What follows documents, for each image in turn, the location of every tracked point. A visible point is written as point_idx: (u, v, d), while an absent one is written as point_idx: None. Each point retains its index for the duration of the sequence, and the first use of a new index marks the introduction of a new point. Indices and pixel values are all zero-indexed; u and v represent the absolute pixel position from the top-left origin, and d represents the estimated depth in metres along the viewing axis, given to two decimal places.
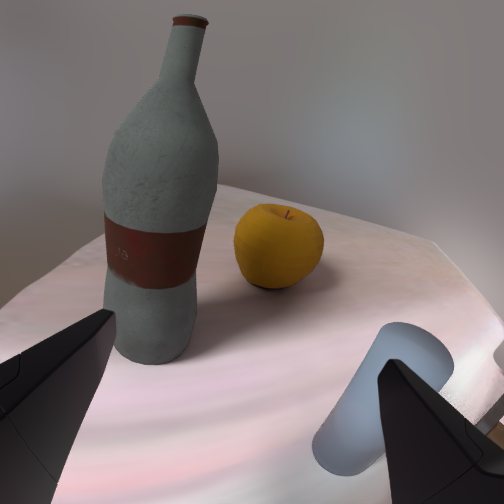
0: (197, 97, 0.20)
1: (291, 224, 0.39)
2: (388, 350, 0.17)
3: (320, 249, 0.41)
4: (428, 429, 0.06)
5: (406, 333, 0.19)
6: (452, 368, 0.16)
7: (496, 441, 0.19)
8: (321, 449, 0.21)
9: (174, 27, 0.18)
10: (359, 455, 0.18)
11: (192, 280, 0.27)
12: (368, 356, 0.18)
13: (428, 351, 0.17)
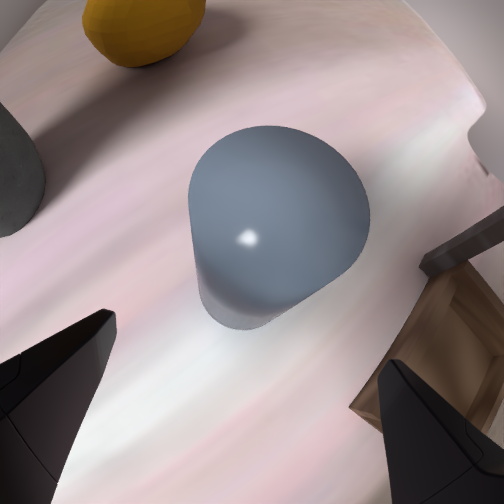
0: None
1: None
2: (206, 214, 0.09)
3: (196, 3, 0.21)
4: (428, 429, 0.06)
5: (265, 153, 0.10)
6: (363, 237, 0.10)
7: (462, 286, 0.20)
8: (203, 302, 0.19)
9: None
10: (243, 323, 0.17)
11: None
12: None
13: (312, 195, 0.10)
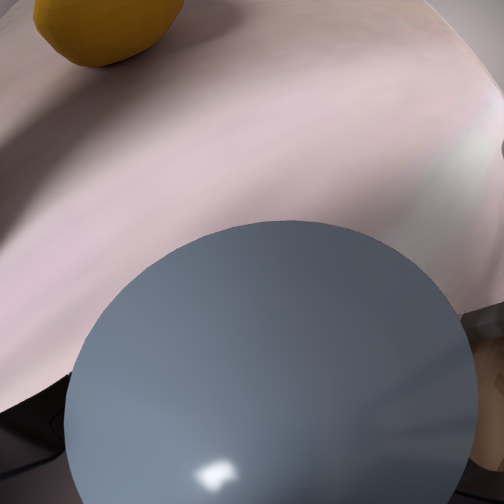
0: None
1: None
2: (114, 500, 0.03)
3: None
4: None
5: (260, 325, 0.04)
6: (454, 483, 0.03)
7: None
8: None
9: None
10: None
11: None
12: None
13: (377, 435, 0.03)
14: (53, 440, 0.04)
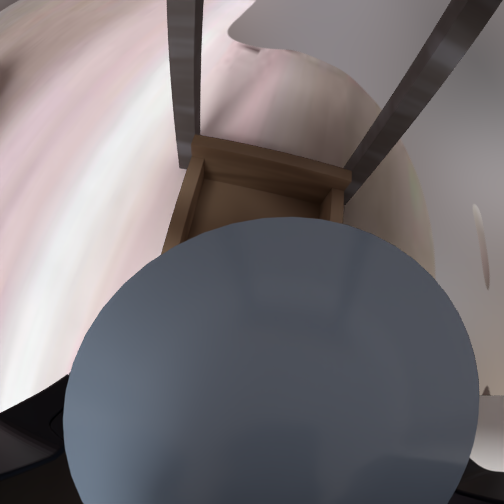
0: None
1: None
2: (113, 499, 0.03)
3: None
4: None
5: (260, 322, 0.04)
6: (455, 481, 0.03)
7: (210, 159, 0.23)
8: None
9: None
10: None
11: None
12: None
13: (378, 433, 0.03)
14: (53, 441, 0.04)
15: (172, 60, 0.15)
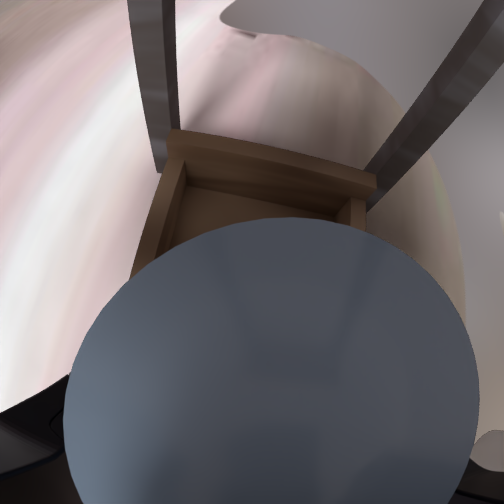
0: None
1: None
2: (113, 499, 0.03)
3: None
4: None
5: (260, 322, 0.04)
6: (455, 481, 0.03)
7: (192, 160, 0.17)
8: None
9: None
10: None
11: None
12: None
13: (378, 433, 0.03)
14: (53, 441, 0.04)
15: (134, 26, 0.10)
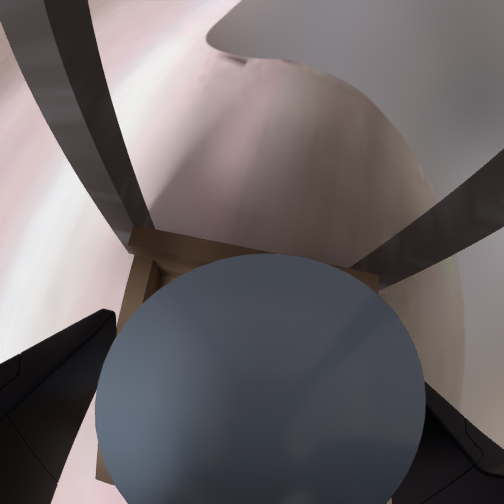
0: None
1: None
2: (131, 465, 0.04)
3: None
4: (428, 429, 0.06)
5: (240, 332, 0.05)
6: (406, 466, 0.04)
7: (161, 260, 0.15)
8: None
9: None
10: None
11: None
12: None
13: (331, 418, 0.05)
14: None
15: (54, 128, 0.07)
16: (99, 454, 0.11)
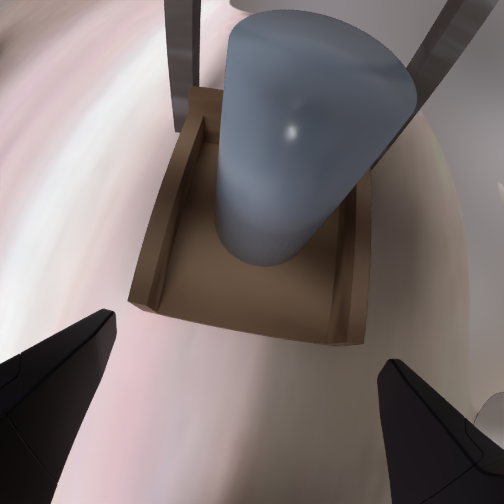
0: None
1: None
2: (249, 55, 0.07)
3: None
4: (428, 429, 0.06)
5: (304, 25, 0.08)
6: (413, 99, 0.08)
7: (211, 115, 0.18)
8: (220, 230, 0.17)
9: None
10: (269, 244, 0.15)
11: None
12: None
13: (357, 59, 0.08)
14: None
15: None
16: (137, 270, 0.15)
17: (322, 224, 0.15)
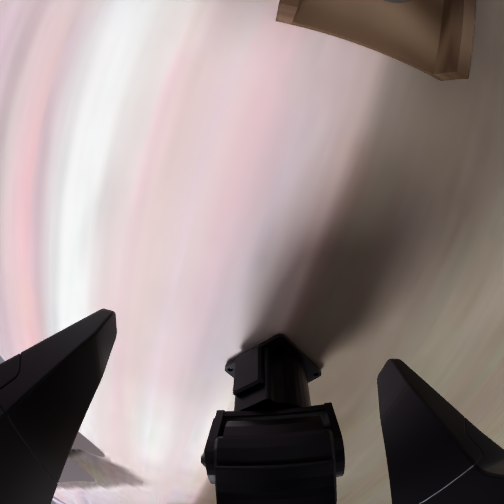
0: None
1: None
2: None
3: None
4: (428, 429, 0.06)
5: None
6: None
7: None
8: None
9: None
10: None
11: None
12: None
13: None
14: None
15: None
16: None
17: None
